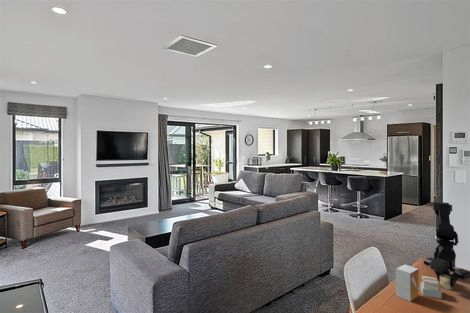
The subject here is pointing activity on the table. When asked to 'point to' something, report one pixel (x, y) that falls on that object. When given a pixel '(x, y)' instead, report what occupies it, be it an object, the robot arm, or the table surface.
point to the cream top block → (430, 283)
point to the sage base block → (431, 292)
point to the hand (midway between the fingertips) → (446, 284)
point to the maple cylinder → (445, 282)
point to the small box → (407, 282)
